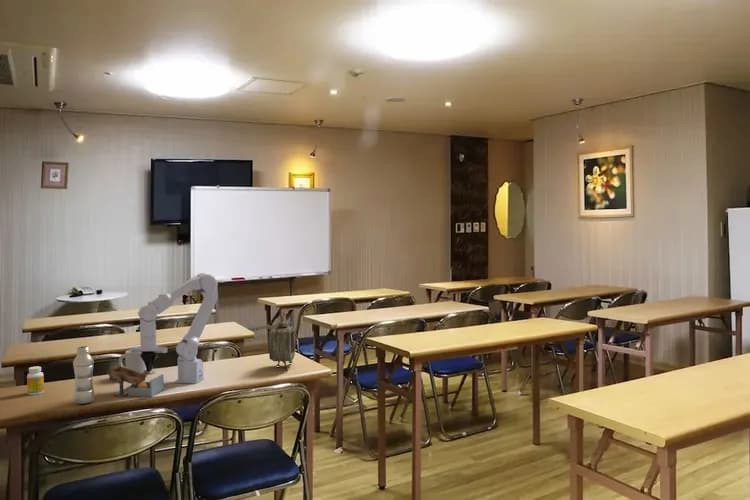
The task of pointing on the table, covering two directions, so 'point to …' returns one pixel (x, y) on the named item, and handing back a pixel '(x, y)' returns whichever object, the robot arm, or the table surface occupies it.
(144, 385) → the ball
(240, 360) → the table surface
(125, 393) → the stand
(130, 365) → the mug
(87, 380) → the plastic bottle
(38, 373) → the supplement bottle
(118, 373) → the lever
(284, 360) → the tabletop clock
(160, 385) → the grey open box
